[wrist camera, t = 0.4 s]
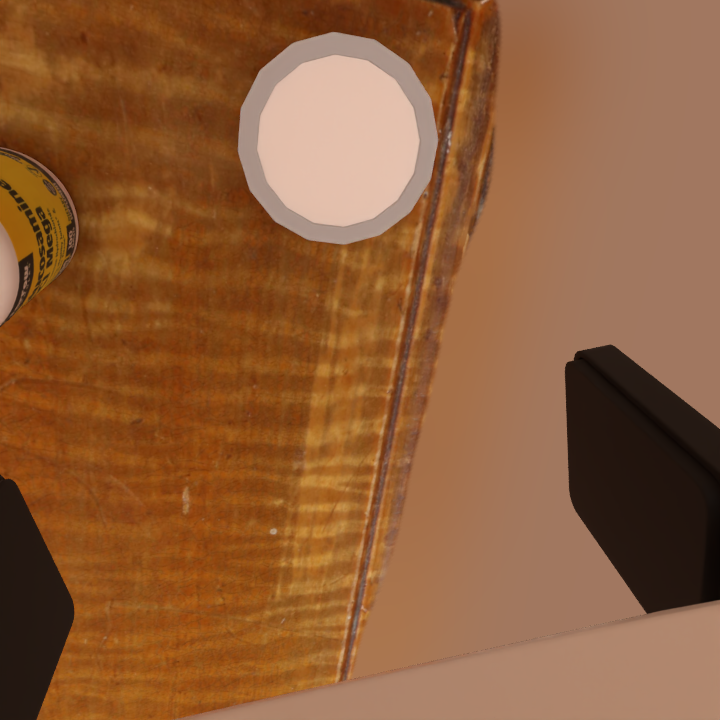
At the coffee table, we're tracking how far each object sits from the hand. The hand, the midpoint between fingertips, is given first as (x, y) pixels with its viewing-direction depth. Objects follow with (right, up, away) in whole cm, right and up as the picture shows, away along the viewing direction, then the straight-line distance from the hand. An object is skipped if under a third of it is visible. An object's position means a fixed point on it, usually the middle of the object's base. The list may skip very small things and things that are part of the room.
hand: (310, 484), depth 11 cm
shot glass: (-1, +12, +17) cm, 21 cm away
